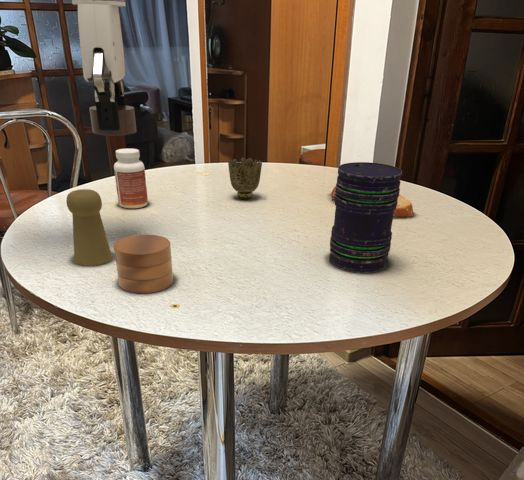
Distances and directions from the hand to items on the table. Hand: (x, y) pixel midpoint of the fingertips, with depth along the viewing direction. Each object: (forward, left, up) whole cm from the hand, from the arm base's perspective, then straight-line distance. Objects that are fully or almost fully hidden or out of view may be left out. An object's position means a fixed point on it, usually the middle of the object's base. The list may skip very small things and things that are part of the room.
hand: (113, 125), depth 83 cm
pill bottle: (-2, +19, -19) cm, 27 cm away
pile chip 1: (+6, -20, -15) cm, 26 cm away
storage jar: (+40, -12, -19) cm, 46 cm away
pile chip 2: (+6, -20, -17) cm, 27 cm away
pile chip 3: (+6, -20, -19) cm, 28 cm away
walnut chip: (0, 0, -1) cm, 1 cm away
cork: (-4, -11, -19) cm, 22 cm away
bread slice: (+50, +21, -19) cm, 58 cm away
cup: (+22, +25, -19) cm, 38 cm away
